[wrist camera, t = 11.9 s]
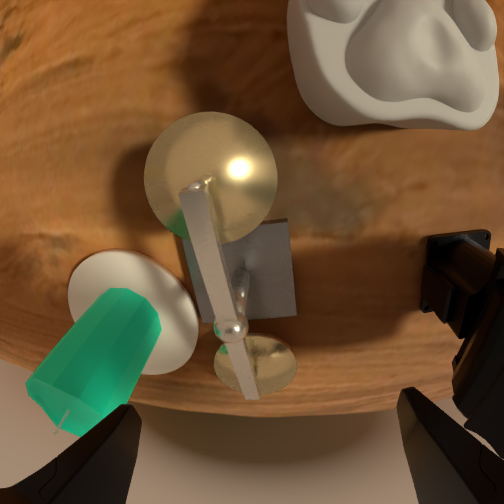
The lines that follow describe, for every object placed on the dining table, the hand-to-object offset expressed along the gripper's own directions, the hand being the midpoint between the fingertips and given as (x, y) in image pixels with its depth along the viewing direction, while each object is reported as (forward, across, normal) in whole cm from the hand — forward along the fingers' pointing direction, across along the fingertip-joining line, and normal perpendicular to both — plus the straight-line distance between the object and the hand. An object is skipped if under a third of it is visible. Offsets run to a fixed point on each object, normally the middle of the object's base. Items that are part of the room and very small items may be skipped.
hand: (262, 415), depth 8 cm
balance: (+13, +2, +1) cm, 13 cm away
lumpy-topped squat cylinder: (+13, -8, -14) cm, 21 cm away
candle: (+12, +12, +4) cm, 17 cm away
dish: (+13, +12, +4) cm, 18 cm away
